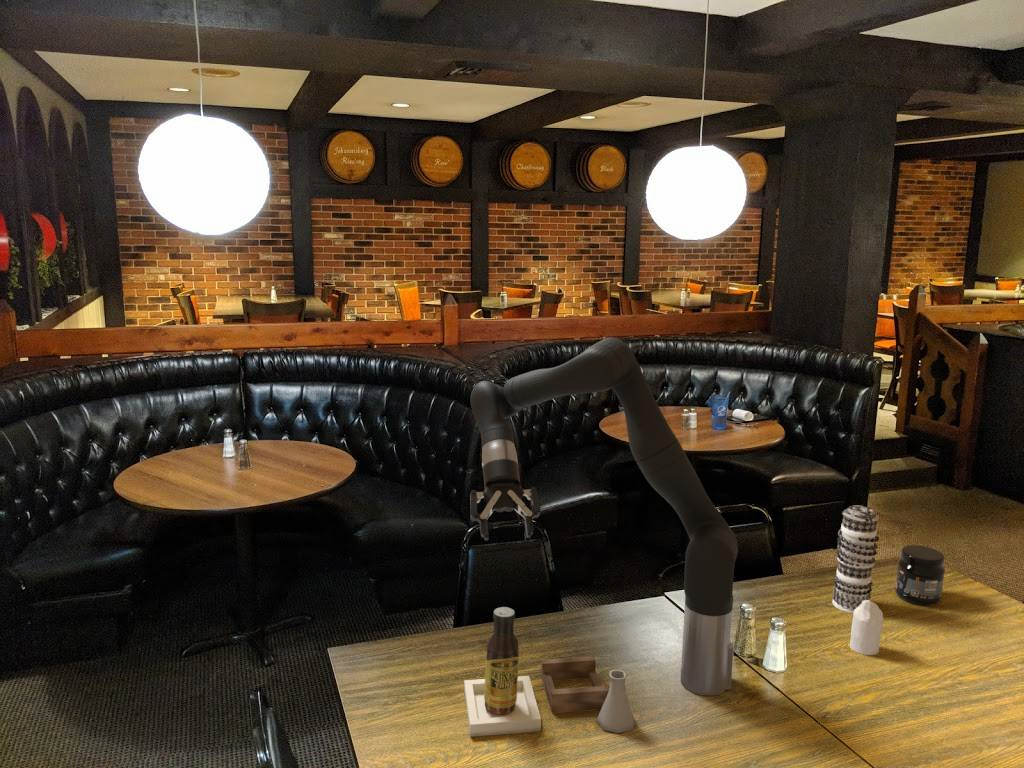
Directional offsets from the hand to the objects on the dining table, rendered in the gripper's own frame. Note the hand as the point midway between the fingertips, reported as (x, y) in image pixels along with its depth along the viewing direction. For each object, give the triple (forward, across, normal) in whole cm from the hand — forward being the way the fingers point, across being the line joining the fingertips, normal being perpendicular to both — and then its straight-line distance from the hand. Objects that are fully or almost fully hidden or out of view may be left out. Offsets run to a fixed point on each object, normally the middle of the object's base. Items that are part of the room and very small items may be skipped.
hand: (508, 537), depth 160 cm
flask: (+35, +18, +7) cm, 40 cm away
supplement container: (+8, +106, +35) cm, 112 cm away
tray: (+30, -3, +11) cm, 33 cm away
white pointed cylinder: (+23, +79, +20) cm, 84 cm away
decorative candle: (+10, +87, +34) cm, 93 cm away
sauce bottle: (+30, -3, +11) cm, 32 cm away
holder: (+28, +12, +14) cm, 33 cm away
